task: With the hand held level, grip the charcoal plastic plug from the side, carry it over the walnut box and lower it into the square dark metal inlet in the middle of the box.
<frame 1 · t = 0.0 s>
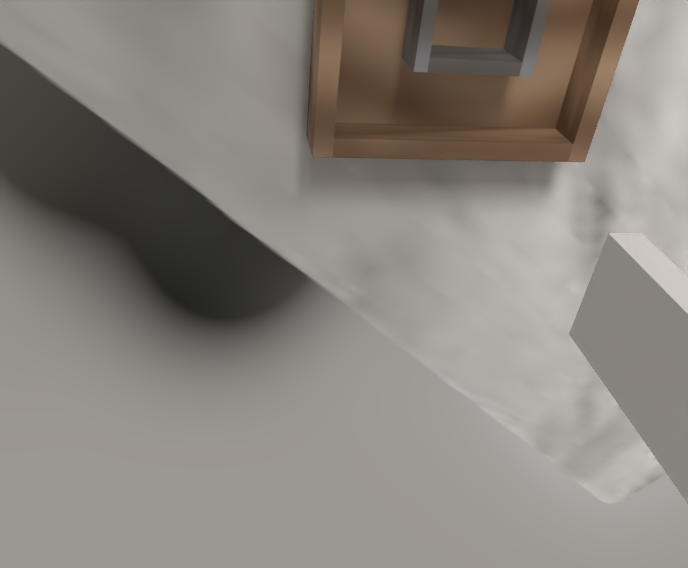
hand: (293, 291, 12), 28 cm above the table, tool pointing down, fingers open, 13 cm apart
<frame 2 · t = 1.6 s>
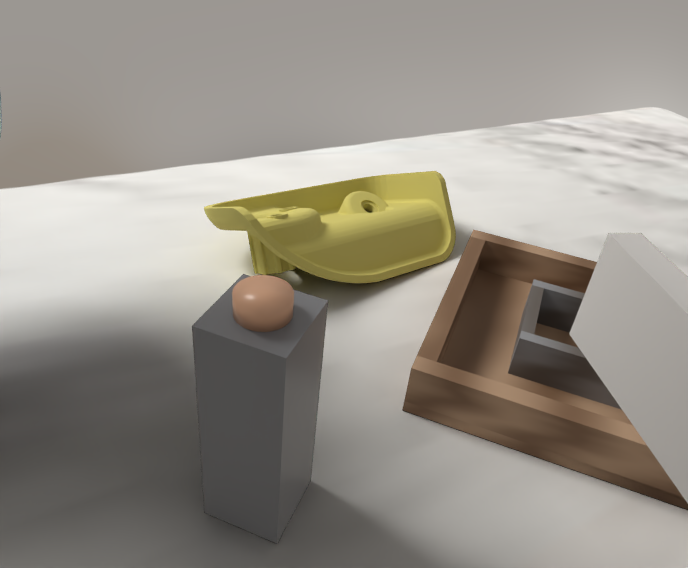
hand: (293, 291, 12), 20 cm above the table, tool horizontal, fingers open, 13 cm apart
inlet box: (565, 365, 42), on the table
plastic component: (328, 252, 52), on the table
plug: (259, 496, 31), on the table
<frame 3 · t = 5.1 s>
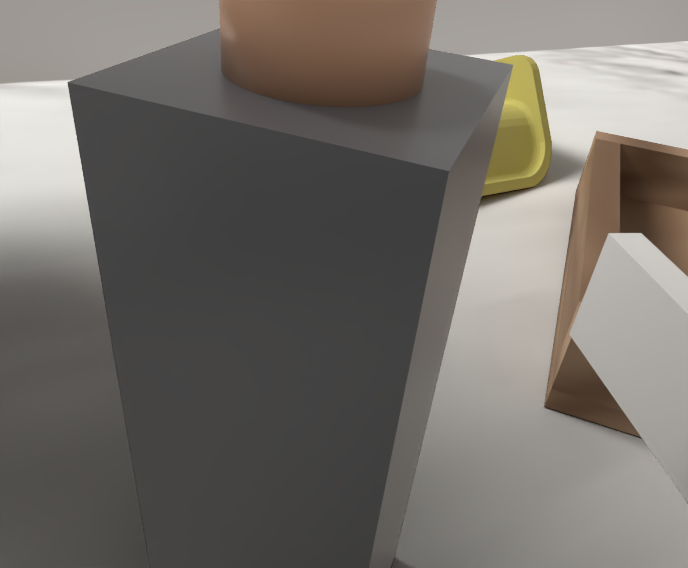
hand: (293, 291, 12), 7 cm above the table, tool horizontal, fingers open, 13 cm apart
plastic component: (359, 171, 35), on the table
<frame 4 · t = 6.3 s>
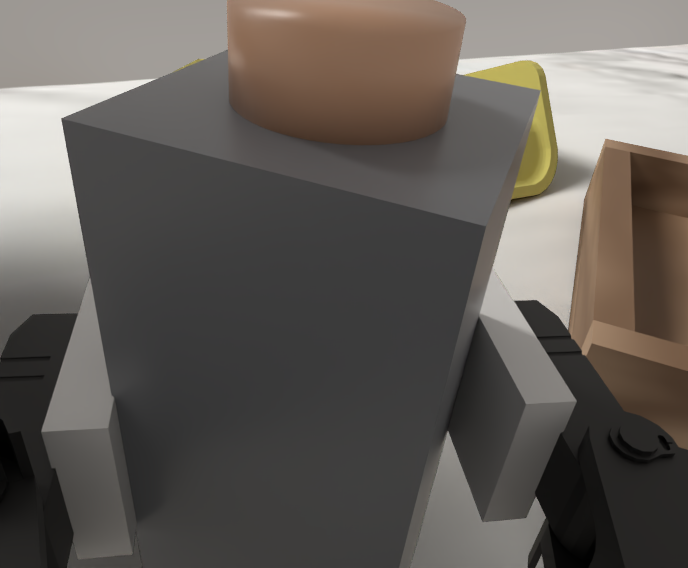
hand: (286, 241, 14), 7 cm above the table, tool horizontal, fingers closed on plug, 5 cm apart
plastic component: (361, 177, 34), on the table
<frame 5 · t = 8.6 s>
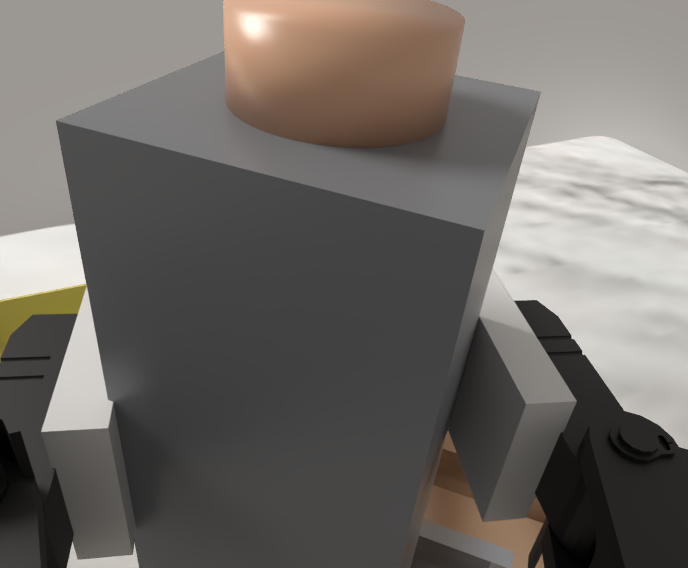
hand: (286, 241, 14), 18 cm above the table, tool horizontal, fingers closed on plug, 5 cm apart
plastic component: (55, 399, 34), on the table
when the fingers open (10 cm above the table, at t = 11.3 s): plug drops 2 cm, resting on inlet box.
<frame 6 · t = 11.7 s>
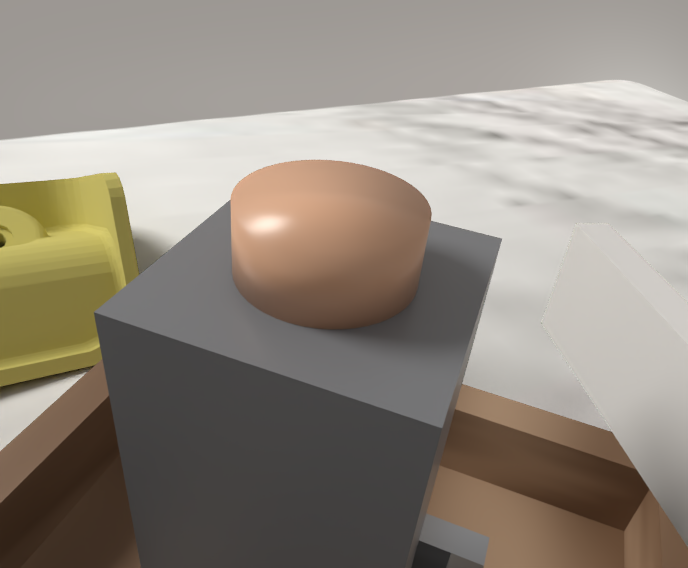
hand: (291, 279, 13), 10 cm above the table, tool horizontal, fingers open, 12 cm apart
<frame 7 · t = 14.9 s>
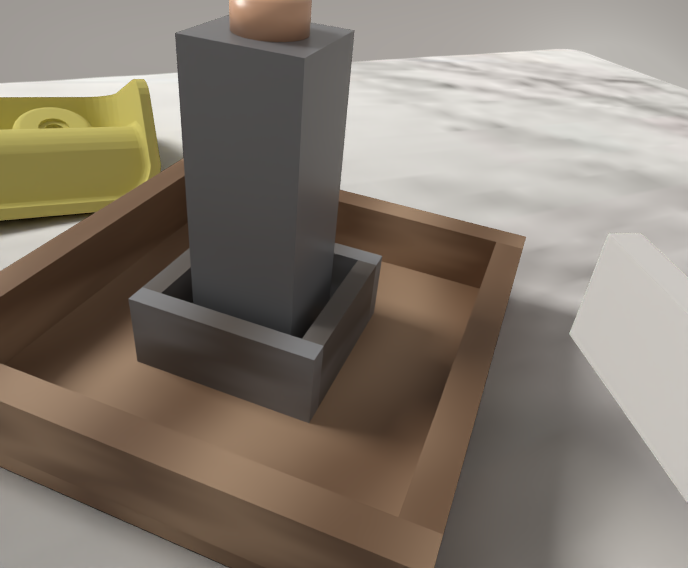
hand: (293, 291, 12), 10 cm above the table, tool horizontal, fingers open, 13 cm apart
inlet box: (264, 349, 26), on the table
plug: (264, 336, 25), point 1 cm above the table, touching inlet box
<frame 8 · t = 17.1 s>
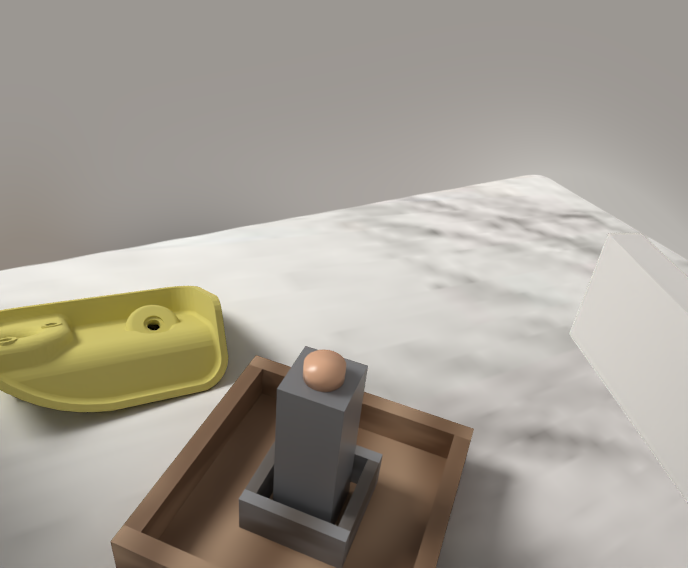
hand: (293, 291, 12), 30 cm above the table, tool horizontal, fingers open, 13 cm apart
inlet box: (310, 510, 42), on the table
plastic component: (102, 366, 53), on the table
plug: (311, 504, 42), point 1 cm above the table, touching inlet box
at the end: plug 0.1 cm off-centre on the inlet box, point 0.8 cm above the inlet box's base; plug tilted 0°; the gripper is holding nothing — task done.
